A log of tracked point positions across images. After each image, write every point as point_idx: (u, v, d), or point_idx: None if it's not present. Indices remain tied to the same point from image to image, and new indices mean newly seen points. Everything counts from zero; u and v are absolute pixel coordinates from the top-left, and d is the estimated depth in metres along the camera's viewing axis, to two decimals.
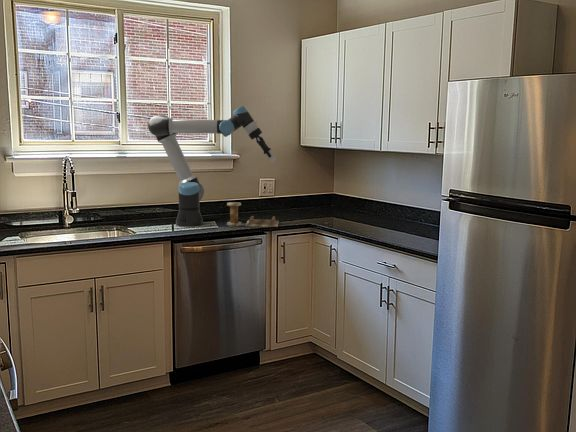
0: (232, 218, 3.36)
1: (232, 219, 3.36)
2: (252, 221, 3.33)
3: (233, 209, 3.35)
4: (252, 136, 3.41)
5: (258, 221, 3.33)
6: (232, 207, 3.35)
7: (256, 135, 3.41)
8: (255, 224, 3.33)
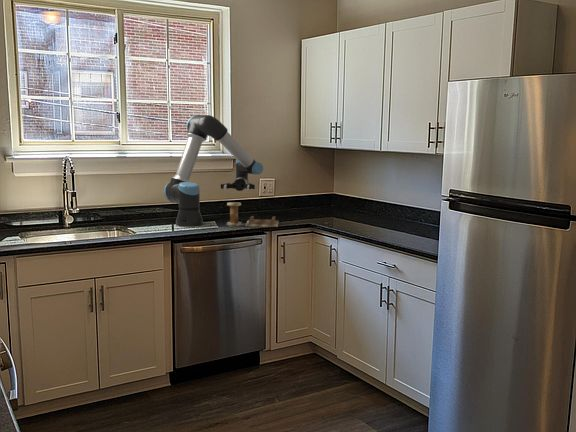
0: (232, 218, 3.36)
1: (232, 219, 3.36)
2: (252, 221, 3.33)
3: (233, 209, 3.35)
4: (244, 181, 3.63)
5: (258, 221, 3.33)
6: (232, 207, 3.35)
7: None
8: (255, 224, 3.33)
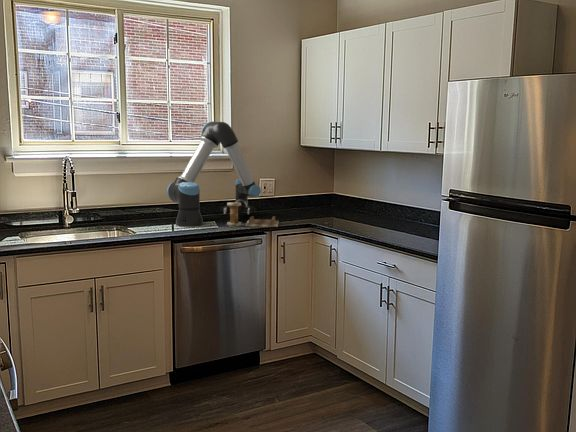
0: (232, 218, 3.36)
1: (232, 219, 3.36)
2: (252, 221, 3.33)
3: (233, 209, 3.35)
4: (244, 203, 3.59)
5: (258, 221, 3.33)
6: (232, 207, 3.35)
7: None
8: (255, 224, 3.33)
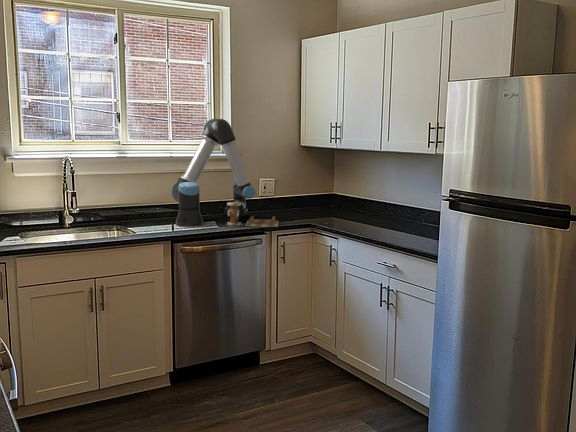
0: (232, 218, 3.36)
1: (232, 219, 3.36)
2: (252, 221, 3.33)
3: (233, 209, 3.35)
4: (242, 205, 3.52)
5: (258, 221, 3.33)
6: (232, 207, 3.35)
7: None
8: (255, 224, 3.33)
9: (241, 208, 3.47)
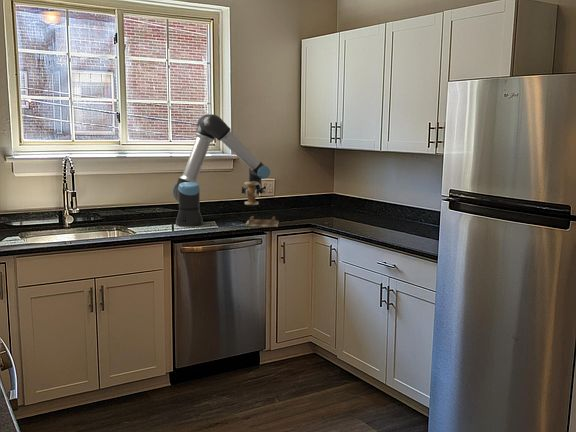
0: (250, 197, 3.35)
1: (250, 198, 3.36)
2: (252, 221, 3.33)
3: (251, 188, 3.34)
4: (258, 185, 3.52)
5: (258, 221, 3.33)
6: (250, 186, 3.34)
7: None
8: (255, 224, 3.33)
9: (258, 188, 3.47)
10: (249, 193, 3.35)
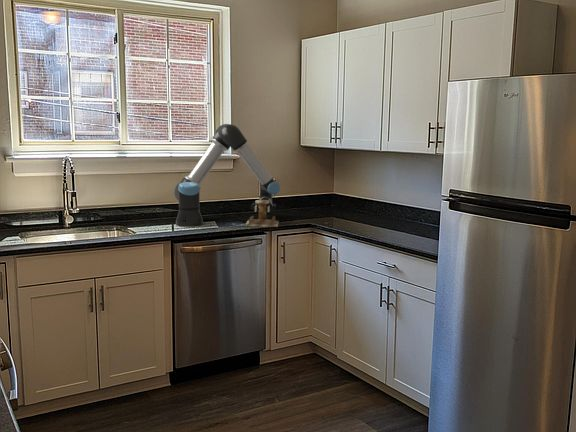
0: (261, 216, 3.37)
1: (261, 217, 3.37)
2: (252, 221, 3.33)
3: (261, 207, 3.36)
4: (269, 201, 3.53)
5: (258, 221, 3.33)
6: (260, 205, 3.36)
7: None
8: (255, 224, 3.33)
9: (269, 204, 3.49)
10: (260, 211, 3.37)
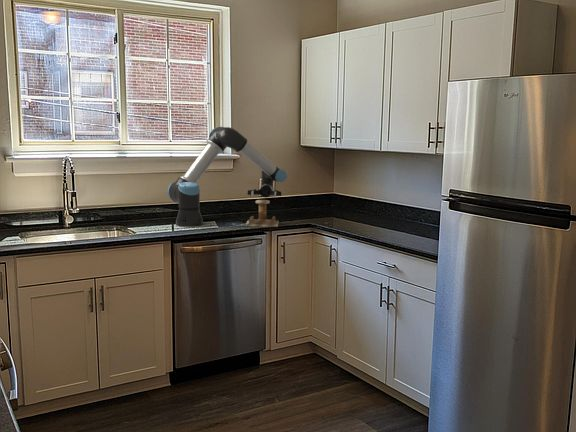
0: (261, 216, 3.37)
1: (261, 217, 3.37)
2: (252, 221, 3.33)
3: (262, 207, 3.36)
4: (270, 188, 3.66)
5: (258, 221, 3.33)
6: (261, 205, 3.36)
7: None
8: (255, 224, 3.33)
9: None
10: (260, 211, 3.37)
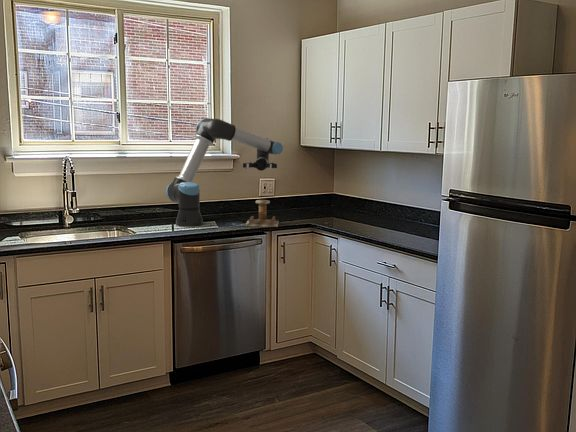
0: (261, 216, 3.37)
1: (261, 217, 3.37)
2: (252, 221, 3.33)
3: (262, 207, 3.36)
4: (266, 161, 3.65)
5: (258, 221, 3.33)
6: (261, 205, 3.36)
7: None
8: (255, 224, 3.33)
9: None
10: (260, 211, 3.37)
